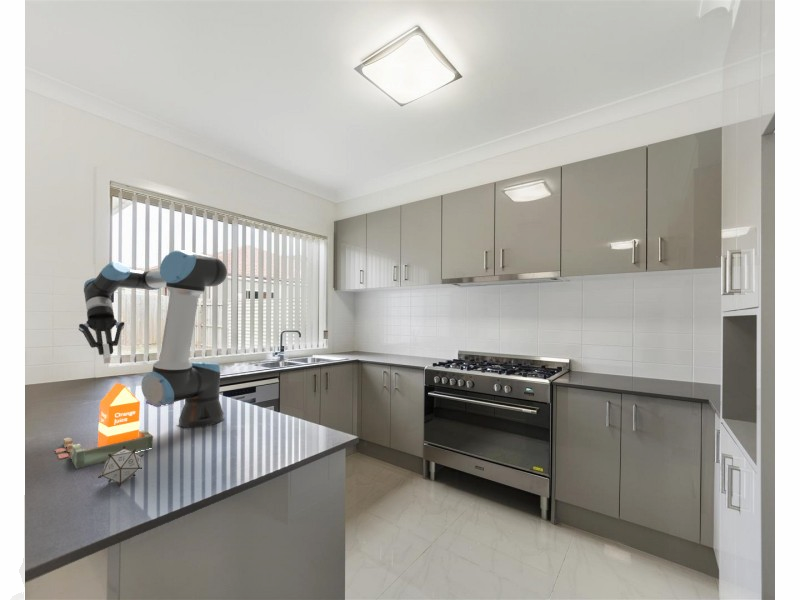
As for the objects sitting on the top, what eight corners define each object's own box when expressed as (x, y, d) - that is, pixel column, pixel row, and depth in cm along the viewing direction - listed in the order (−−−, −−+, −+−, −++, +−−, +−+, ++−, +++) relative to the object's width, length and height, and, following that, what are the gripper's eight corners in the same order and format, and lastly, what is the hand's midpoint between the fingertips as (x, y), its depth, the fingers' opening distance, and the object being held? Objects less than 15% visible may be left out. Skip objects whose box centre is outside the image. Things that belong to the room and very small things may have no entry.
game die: (117, 495, 83) (121, 454, 89) (151, 481, 84) (153, 442, 90) (85, 493, 76) (91, 449, 81) (122, 478, 77) (127, 435, 82)
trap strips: (54, 450, 102) (54, 449, 102) (64, 448, 103) (64, 447, 103) (59, 459, 95) (59, 458, 95) (69, 457, 97) (69, 456, 97)
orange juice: (128, 442, 108) (131, 380, 109) (138, 448, 103) (141, 383, 104) (96, 450, 102) (100, 384, 103) (105, 457, 97) (109, 388, 98)
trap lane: (63, 445, 106) (64, 432, 106) (130, 431, 119) (130, 419, 119) (76, 468, 90) (77, 453, 90) (152, 449, 103) (152, 435, 103)
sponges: (157, 407, 152) (157, 403, 152) (145, 403, 158) (145, 399, 158) (174, 404, 157) (174, 400, 158) (162, 400, 164) (162, 396, 164)
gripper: (120, 317, 134) (129, 364, 123) (75, 318, 124) (80, 370, 113) (123, 304, 130) (132, 351, 119) (77, 304, 120) (82, 356, 110)
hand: (107, 360), depth 116 cm, fingers closed
